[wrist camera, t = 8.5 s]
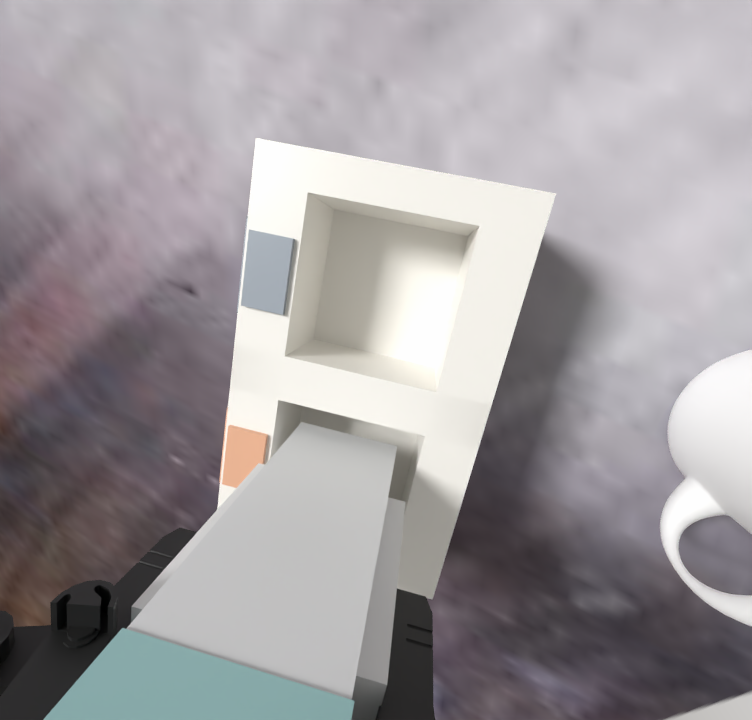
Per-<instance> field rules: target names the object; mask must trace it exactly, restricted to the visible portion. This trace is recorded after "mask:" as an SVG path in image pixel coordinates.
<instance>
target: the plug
mask: <svg viewBox="0 0 752 720" xmlns="http://www.w3.org/2000/svg"><path fill="white" fill-rule="evenodd" d="M396 451H397V446H395V445H391V444H387V443H383V442H379V441H375V440H371V439H367V438H363V437H359V436H355V435H351V434H347V433H343V432H339V431H335V430H331V429H327V428H323V427H319V426H315V425H311V424H307V423H304V422H301V423H300V424H299V426H298V427H297V428H296V429H295V430H294V432H293V433H292V434H291V435H290V436H289V437H288V439H287V440H286V441H285V442H284V443H283V445H282V446H281V447H280V448H279V449H278V450H277V452H276V453H275V454H274V455H273V456H272V457H271V459H270V460H269V461H268V462H267V463H266V465H265V466H264V467H263V468H262V469H261V470H260V472H259V473H258V474H257V475H256V476H255V478H254V479H253V480H252V481H251V482H250V483H249V485H248V486H247V487H246V488H245V489H244V491H243V492H242V493H241V494H240V495H239V496H238V498H237V499H236V500H235V501H234V502H233V503H232V505H231V506H230V507H229V508H228V509H227V511H226V512H225V513H224V514H223V515H222V516H221V518H220V519H219V520H218V521H217V522H216V524H215V525H214V526H213V527H212V528H211V529H210V531H209V532H208V533H207V534H206V535H205V536H204V538H203V539H202V540H201V541H200V542H199V544H198V545H197V546H196V547H195V548H194V549H193V551H192V552H191V553H190V554H189V555H188V557H187V558H186V559H185V560H184V561H183V562H182V564H181V565H180V566H179V567H178V568H177V570H176V571H175V572H174V573H173V574H172V575H171V577H170V578H169V579H168V580H167V581H166V582H165V584H164V585H163V586H162V587H161V588H160V590H159V591H158V592H157V593H156V594H155V595H154V597H153V598H152V599H151V600H150V601H149V603H148V604H147V605H146V606H145V607H144V608H143V610H142V611H141V612H140V613H139V614H138V615H137V617H136V618H135V619H134V620H133V621H132V623H131V624H130V625H129V626H128V627H127V628H126V629H125V628H122V629H121V630H120V631H119V632H118V634H117V635H116V636H115V637H114V638H113V639H112V640H111V642H110V643H109V644H108V645H107V646H106V647H105V649H104V650H103V651H102V652H101V653H100V654H99V656H98V657H97V658H96V659H95V660H94V661H93V663H92V664H91V665H90V666H89V667H88V668H87V670H86V671H85V672H84V673H83V674H82V675H81V676H80V678H79V679H78V680H77V681H76V682H75V683H74V685H73V686H72V687H71V688H70V689H69V690H68V692H67V693H66V694H65V695H64V696H63V697H62V699H61V700H60V701H59V702H58V703H57V704H56V706H55V707H54V708H53V709H52V710H51V711H50V712H49V714H48V715H47V716H46V717H45V718H44V719H43V720H351V719H352V713H353V707H354V700H352V696H353V690H354V685H355V679H356V674H357V668H358V662H359V657H360V651H361V646H362V640H363V635H364V629H365V623H366V618H367V612H368V607H369V601H370V596H371V590H372V584H373V579H374V573H375V568H376V562H377V557H378V551H379V545H380V540H381V534H382V529H383V523H384V517H385V512H386V506H387V501H388V495H389V490H390V484H391V478H392V473H393V467H394V462H395V456H396Z"/></svg>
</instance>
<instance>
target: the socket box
mask: <svg viewBox="0 0 752 720" xmlns="http://www.w3.org/2000/svg"><path fill="white" fill-rule="evenodd" d="M555 195H556V193H550V192H545V191H539V190H534V189H529V188H523V187H518V186H512V185H507V184H502V183H496V182H491V181H485V180H480V179H475V178H469V177H464V176H458V175H453V174H448V173H442V172H437V171H431V170H426V169H421V168H415V167H410V166H404V165H399V164H394V163H388V162H383V161H377V160H372V159H367V158H361V157H356V156H350V155H345V154H340V153H334V152H329V151H323V150H318V149H313V148H307V147H302V146H296V145H291V144H286V143H280V142H275V141H269V140H264V139H259V138H256V142H255V152H254V161H253V171H252V181H251V190H250V200H249V210H248V216H247V218H246V228H245V238H244V247H243V257H242V267H241V277H240V286H239V296H238V306H237V313H238V316H237V325H236V335H235V345H234V354H233V364H232V373H231V383H230V393H229V402H228V408H227V413H226V422H225V432H224V442H223V451H222V461H221V471H220V481H219V482H220V489H219V499H218V508H219V507H220V506H221V505H222V504H223V503H224V502H225V501H226V499H227V498H228V497H229V496H230V495H231V494H232V493H233V492H234V490H235V489H236V488H237V487H238V486H239V485H240V484H241V483H242V481H243V480H244V479H245V478H246V477H247V476H248V475H249V474H250V472H251V471H252V470H253V469H254V468H255V467H256V466H257V465H258V463H260V464H264V465H266V463H267V462H268V461H269V460H270V459H271V457H272V456H273V455H274V454H275V453H276V452H277V450H278V449H279V448H280V447H281V446H282V445H283V443H284V442H285V441H286V440H287V439H288V437H289V436H290V435H291V434H292V433H293V432H294V430H295V429H296V428H297V427H298V426H299V424H300V423H301V422H304V423H307V424H311V425H315V426H319V427H323V428H327V429H331V430H335V431H339V432H343V433H347V434H351V435H355V436H359V437H363V438H367V439H371V440H375V441H379V442H383V443H387V444H391V445H395V446H397V451H396V456H395V462H394V467H393V473H392V478H391V484H390V490H389V495H388V497H389V498H393V499H396V500H400V501H404V502H406V503H405V513H404V523H403V533H402V543H401V553H400V562H399V572H398V582H397V588H398V589H401V590H405V591H408V592H412V593H415V594H419V595H422V596H426V598H429V599H432V600H433V596H434V593H435V590H436V586H437V583H438V580H439V577H440V573H441V570H442V567H443V563H444V560H445V557H446V554H447V550H448V547H449V544H450V540H451V537H452V534H453V531H454V527H455V524H456V521H457V517H458V514H459V511H460V508H461V504H462V501H463V498H464V494H465V491H466V488H467V485H468V481H469V478H470V475H471V471H472V468H473V465H474V461H475V458H476V455H477V452H478V448H479V445H480V442H481V438H482V435H483V432H484V429H485V425H486V422H487V419H488V415H489V412H490V409H491V406H492V402H493V399H494V396H495V392H496V389H497V386H498V383H499V379H500V376H501V373H502V369H503V366H504V363H505V360H506V356H507V353H508V350H509V346H510V343H511V340H512V337H513V333H514V330H515V327H516V323H517V320H518V317H519V314H520V310H521V307H522V304H523V300H524V297H525V294H526V291H527V287H528V284H529V281H530V277H531V274H532V271H533V268H534V264H535V261H536V258H537V254H538V251H539V248H540V245H541V241H542V238H543V235H544V231H545V228H546V225H547V222H548V218H549V215H550V212H551V208H552V205H553V202H554V199H555ZM218 508H217V510H218Z"/></svg>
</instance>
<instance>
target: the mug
mask: <svg viewBox="0 0 752 720" xmlns="http://www.w3.org/2000/svg"><path fill="white" fill-rule="evenodd" d="M668 444H669V449H670V452H671V455H672V458H673V460H674V462H675V464H676V466H677V467H678V469H679V470H680V471H681V473H682V474H683V476H684V477H685V479H684V480H683V481H682V482H681V483H680V484H679V485H678V486H677V487H676V489H675V490H674V491H673V492H672V493H671V495H670V496H669V498H668V500H667V501H666V503H665V506H664V508H663V511H662V515H661V519H660V534H661V540H662V544H663V547H664V550H665V552H666V554H667V556H668V559H669V560H670V562H671V564H672V565H673V567H674V569H675V570H676V572H677V573H678V574H679V576H680V577H681V578H682V580H683V581H684V582H685V583H686V584H687V585H688V586H689V588H690V589H691V590H692V591H693V592H694V593H695V594H696V595H698V596H699V597H700V598H701V599H702V600H704V601H705V602H706V603H707V604H709V605H710V606H712V607H713V608H715V609H716V610H718V611H720V612H721V613H723V614H724V615H726V616H729V617H731V618H733V619H735V620H737V621H739V622H742V623H744V624H746V625H749V626H752V595H735V594H729V593H724V592H720V591H718V590H715V589H713V588H710V587H708V586H706V585H705V584H703V583H701V582H700V581H698V580H697V579H696V578H695V577H693V576H692V575H691V574H690V573H689V572H688V570H687V569H686V568H685V566H684V564H683V563H682V561H681V558H680V555H679V540H680V537H681V535H682V533H683V531H684V530H685V529H686V528H687V527H688V526H690V525H691V524H692V523H694V522H696V521H699V520H701V519H705V518H708V517H713V516H719V515H727V516H730V517H731V518H733V519H734V520H735V521H736V522H737V523H739V524H740V525H741V526H742V527H743V528H745V529H746V530H747V531H748V532H749V533H751V534H752V350H748V351H744V352H741V353H738V354H735V355H732V356H729V357H727V358H724V359H722V360H720V361H718V362H716V363H714V364H713V365H711V366H709V367H708V368H706V369H705V370H703V371H702V372H701V373H699V374H698V375H697V376H696V377H695V378H694V379H693V380H692V381H691V382H689V383H688V385H687V386H686V387H685V388H684V389H683V391H682V392H681V393H680V395H679V397H678V398H677V400H676V402H675V404H674V406H673V408H672V410H671V414H670V417H669V422H668Z"/></svg>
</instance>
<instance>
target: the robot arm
mask: <svg viewBox="0 0 752 720" xmlns="http://www.w3.org/2000/svg"><path fill="white" fill-rule="evenodd" d="M264 466H265V465H264V464H260V463H258V465H257V466H256V467H255V468H254V469H253V470H252V471H251V472H250V474H249V475H248V476H247V477H246V478H245V479H244V480H243V481H242V483H241V484H240V485H239V486H238V487H237V488H236V489H235V490H234V492H233V493H232V494H231V495H230V496H229V497H228V498H227V499H226V501H225V502H224V503H223V504H222V505H221V506H220V507H219V508H218V510H217V511H216V512H215V513H214V514H213V515H212V516H211V517H210V519H209V520H208V521H207V522H206V523H205V524H204V525H203V526H202V528H201V529H200V530H199V531H198V532H194V531H190V530H187V529H183V528H179V529H177V530H175V531H173V532H171V533H169V534H168V535H166V536H164V537H163V538H162V539H161V540H160V541H159V542H158V543H157V544H156V545H155V546H154V547H153V548H152V549H151V550H150V552H148V553H147V554H146V555H145V556H144V557H143V558H142V559H141V560H140V562H139V563H137V564H136V565H135V566H134V567H133V568H132V569H131V570H130V571H129V572H128V573H127V574H126V575H125V576H124V577H123V578H122V579H121V580H120V581H119V582H118V583H117V584H116V585H115V586H113V585H112V584H111V583H109V582H106V581H102V580H96V581H87V582H83V583H80V584H77V585H74V586H72V587H71V588H69V589H67V590H65V591H64V592H62V593H60V594H59V595H58V596H57V597H56V598H55V599H54V600H53V601H52V602H51V625H48V626H26V627H14V624H13V617H12V616H11V615H10V614H8V613H7V612H6V611H0V720H43V719H44V718H45V717H46V716H47V715H48V714H49V712H50V711H51V710H52V709H53V708H54V707H55V706H56V704H57V703H58V702H59V701H60V700H61V699H62V697H63V696H64V695H65V694H66V693H67V692H68V690H69V689H70V688H71V687H72V686H73V685H74V683H75V682H76V681H77V680H78V679H79V678H80V676H81V675H82V674H83V673H84V672H85V671H86V670H87V668H88V667H89V666H90V665H91V664H92V663H93V661H94V660H95V659H96V658H97V657H98V656H99V654H100V653H101V652H102V651H103V650H104V649H105V647H106V646H107V645H108V644H109V643H110V642H111V640H112V639H113V638H114V637H115V636H116V635H117V634H118V632H119V631H120V630H121V629H122V628H125V629H126V628H127V627H128V626H129V625H130V624H131V623H132V621H133V620H134V619H135V618H136V617H137V615H138V614H139V613H140V612H141V611H142V610H143V608H144V607H145V606H146V605H147V604H148V603H149V601H150V600H151V599H152V598H153V597H154V595H155V594H156V593H157V592H158V591H159V590H160V588H161V587H162V586H163V585H164V584H165V582H166V581H167V580H168V579H169V578H170V577H171V575H172V574H173V573H174V572H175V571H176V570H177V568H178V567H179V566H180V565H181V564H182V562H183V561H184V560H185V559H186V558H187V557H188V555H189V554H190V553H191V552H192V551H193V549H194V548H195V547H196V546H197V545H198V544H199V542H200V541H201V540H202V539H203V538H204V536H205V535H206V534H207V533H208V532H209V531H210V529H211V528H212V527H213V526H214V525H215V524H216V522H217V521H218V520H219V519H220V518H221V516H222V515H223V514H224V513H225V512H226V511H227V509H228V508H229V507H230V506H231V505H232V503H233V502H234V501H235V500H236V499H237V498H238V496H239V495H240V494H241V493H242V492H243V491H244V489H245V488H246V487H247V486H248V485H249V483H250V482H251V481H252V480H253V479H254V478H255V476H256V475H257V474H258V473H259V472H260V470H261V469H262V468H263V467H264ZM405 503H406V502H404V501H400V500H396V499H393V498H389V497H388V501H387V506H386V512H385V517H384V523H383V529H382V534H381V540H380V545H379V551H378V557H377V562H376V568H375V573H374V579H373V584H372V590H371V596H370V601H369V607H368V612H367V618H366V623H365V629H364V635H363V640H362V646H361V651H360V657H359V662H358V668H357V674H356V679H355V685H354V690H353V696H352V700H354V707H353V713H352V719H351V720H435V717H434V708H433V650H432V647H433V635H432V631H433V629H432V611H431V609H430V606H429V604H428V601H427V599H426V596H422V595H419V594H415V593H412V592H408V591H405V590H401V589H398V588H397V582H398V572H399V562H400V553H401V543H402V533H403V523H404V513H405Z"/></svg>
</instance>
